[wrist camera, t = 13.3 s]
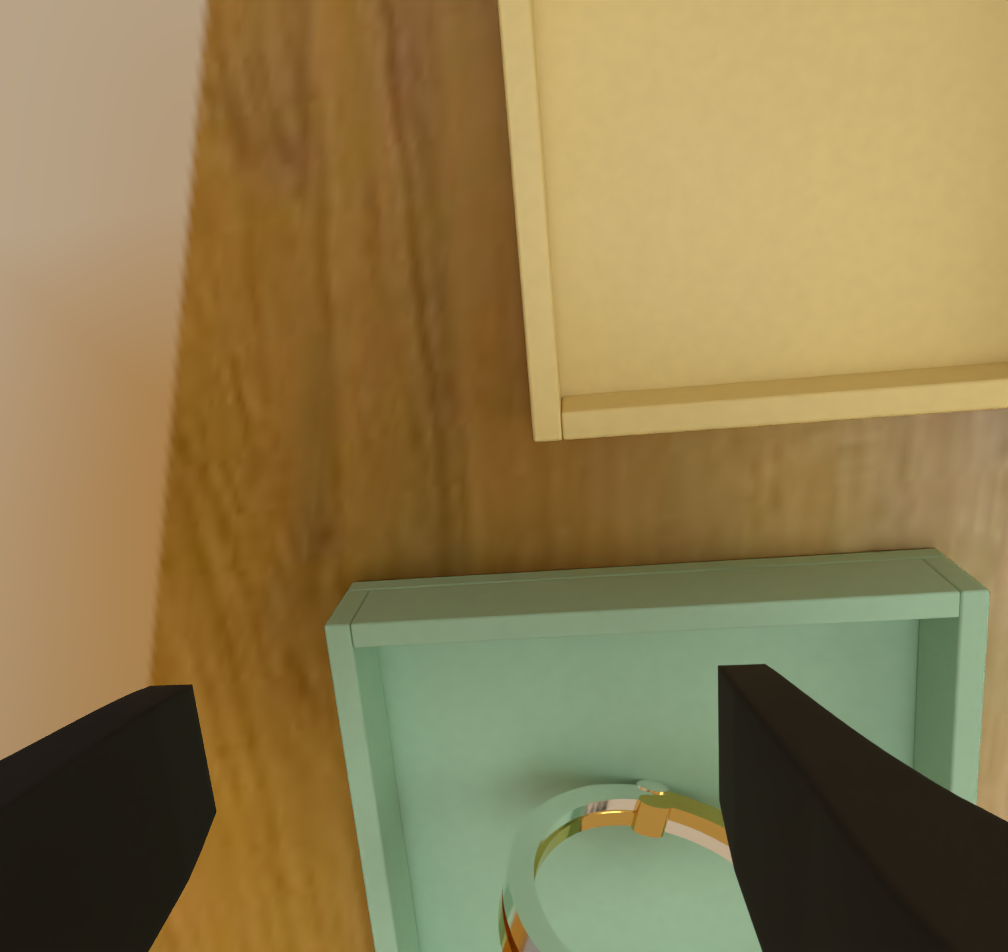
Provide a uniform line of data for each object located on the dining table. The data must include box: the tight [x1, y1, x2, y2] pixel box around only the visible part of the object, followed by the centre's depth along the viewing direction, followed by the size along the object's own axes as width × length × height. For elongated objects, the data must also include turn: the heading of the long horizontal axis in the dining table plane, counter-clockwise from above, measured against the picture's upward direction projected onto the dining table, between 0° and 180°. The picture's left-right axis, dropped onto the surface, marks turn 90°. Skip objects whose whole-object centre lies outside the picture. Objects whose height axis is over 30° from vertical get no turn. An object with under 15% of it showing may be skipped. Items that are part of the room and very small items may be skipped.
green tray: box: [324, 548, 990, 952], centre depth 21 cm, size 14×14×3 cm
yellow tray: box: [497, 0, 1008, 442], centre depth 16 cm, size 12×12×3 cm
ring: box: [498, 780, 733, 952], centre depth 17 cm, size 7×3×8 cm, turn 79°
